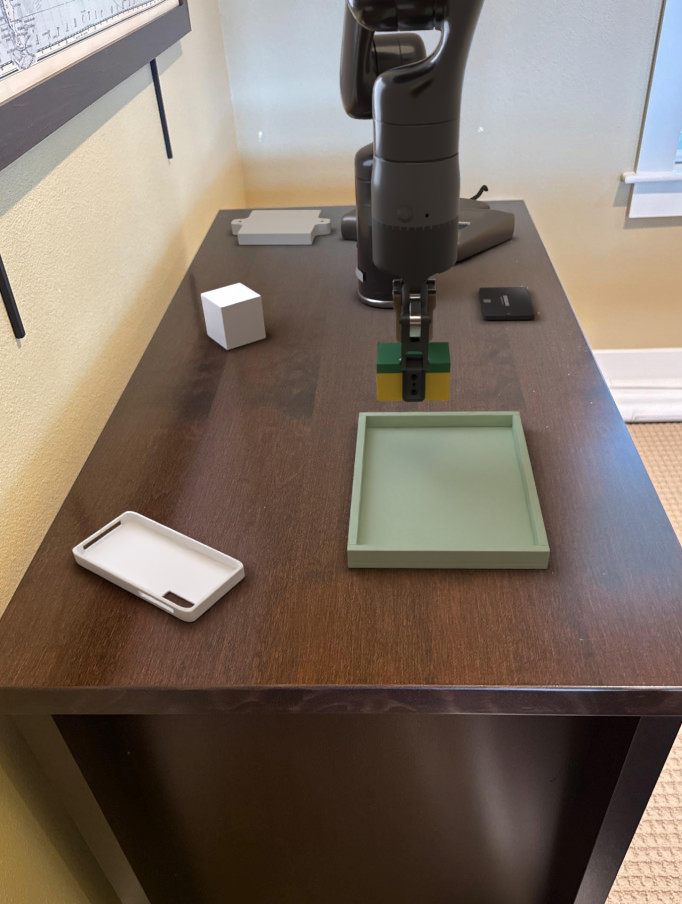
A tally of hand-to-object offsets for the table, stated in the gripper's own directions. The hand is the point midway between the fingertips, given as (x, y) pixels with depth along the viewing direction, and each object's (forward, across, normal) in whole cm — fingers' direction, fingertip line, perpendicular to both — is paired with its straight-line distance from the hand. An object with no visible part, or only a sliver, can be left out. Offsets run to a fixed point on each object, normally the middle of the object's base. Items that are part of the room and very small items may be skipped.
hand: (413, 386), depth 77 cm
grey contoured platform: (+8, +68, -3) cm, 69 cm away
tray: (+9, -6, -3) cm, 11 cm away
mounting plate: (+8, +73, +23) cm, 77 cm away
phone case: (+9, -18, +23) cm, 30 cm away
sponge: (0, 0, 0) cm, 0 cm away
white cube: (+8, +30, +24) cm, 40 cm away
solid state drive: (+8, +39, -14) cm, 42 cm away
